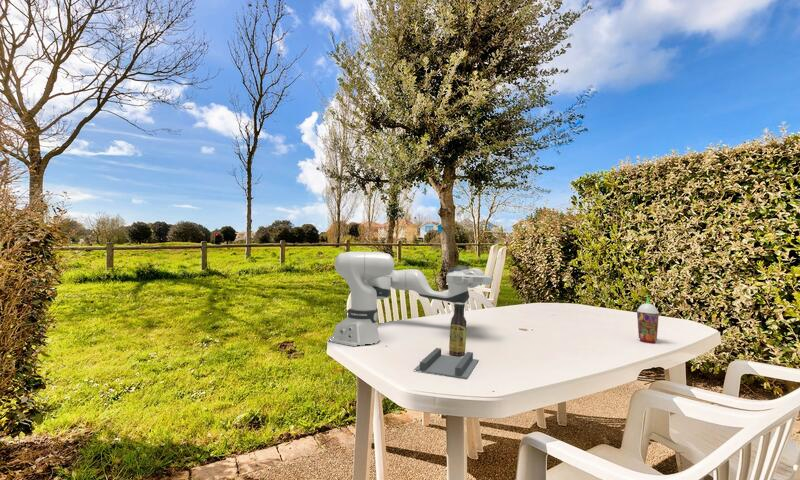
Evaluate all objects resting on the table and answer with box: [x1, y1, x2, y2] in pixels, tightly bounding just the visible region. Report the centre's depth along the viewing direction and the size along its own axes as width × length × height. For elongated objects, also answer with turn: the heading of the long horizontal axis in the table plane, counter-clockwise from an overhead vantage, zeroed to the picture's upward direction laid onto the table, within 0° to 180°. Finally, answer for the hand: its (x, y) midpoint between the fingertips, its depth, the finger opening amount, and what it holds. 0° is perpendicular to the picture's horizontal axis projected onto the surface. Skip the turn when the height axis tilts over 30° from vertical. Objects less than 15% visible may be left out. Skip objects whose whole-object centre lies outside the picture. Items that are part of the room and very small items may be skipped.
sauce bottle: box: [448, 302, 467, 357], centre depth 142 cm, size 7×6×20 cm
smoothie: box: [636, 297, 660, 344], centre depth 165 cm, size 8×8×20 cm
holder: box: [413, 347, 480, 380], centre depth 128 cm, size 18×20×3 cm
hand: (465, 280), depth 160 cm, fingers closed
